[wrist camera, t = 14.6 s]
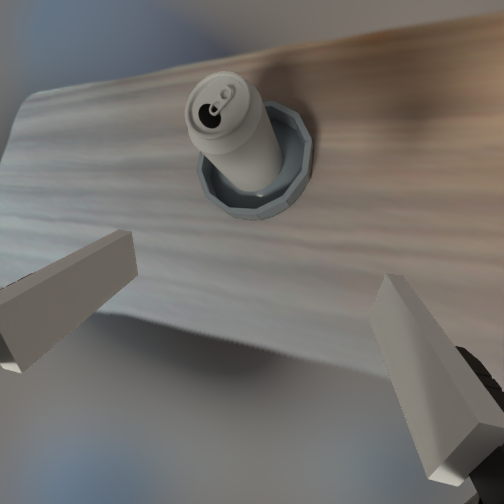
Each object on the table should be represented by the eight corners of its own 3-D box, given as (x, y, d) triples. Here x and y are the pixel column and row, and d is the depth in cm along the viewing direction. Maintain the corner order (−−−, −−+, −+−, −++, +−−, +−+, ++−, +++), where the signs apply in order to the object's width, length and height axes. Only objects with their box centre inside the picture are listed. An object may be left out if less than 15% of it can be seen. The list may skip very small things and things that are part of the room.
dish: (318, 114, 30) (317, 96, 27) (304, 224, 29) (301, 217, 26) (218, 121, 35) (207, 106, 32) (202, 216, 34) (189, 210, 31)
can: (219, 167, 33) (163, 107, 22) (261, 129, 32) (223, 45, 21) (250, 205, 31) (204, 162, 20) (295, 166, 30) (275, 95, 18)
